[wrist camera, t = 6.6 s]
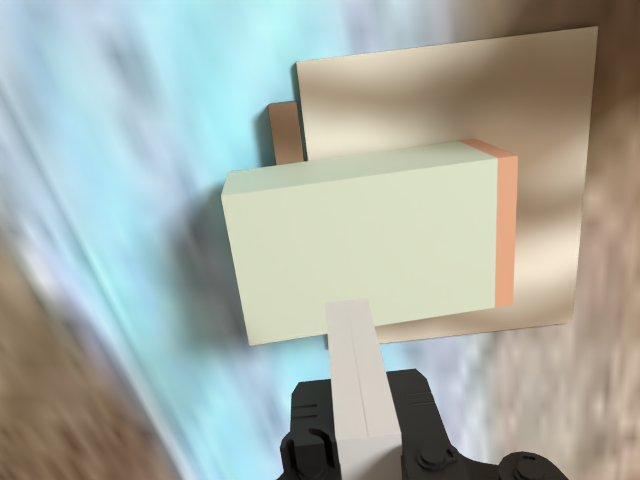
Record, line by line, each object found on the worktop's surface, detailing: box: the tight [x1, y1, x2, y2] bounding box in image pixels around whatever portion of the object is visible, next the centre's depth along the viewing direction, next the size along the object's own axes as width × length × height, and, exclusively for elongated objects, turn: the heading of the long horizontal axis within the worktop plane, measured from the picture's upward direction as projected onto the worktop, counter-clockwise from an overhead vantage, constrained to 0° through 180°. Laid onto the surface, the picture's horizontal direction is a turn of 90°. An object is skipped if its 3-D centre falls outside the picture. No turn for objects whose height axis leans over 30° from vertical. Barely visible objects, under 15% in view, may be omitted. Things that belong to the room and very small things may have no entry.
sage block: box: [221, 139, 518, 346], centre depth 27 cm, size 8×5×14 cm
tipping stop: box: [268, 26, 598, 344], centre depth 29 cm, size 18×18×1 cm
